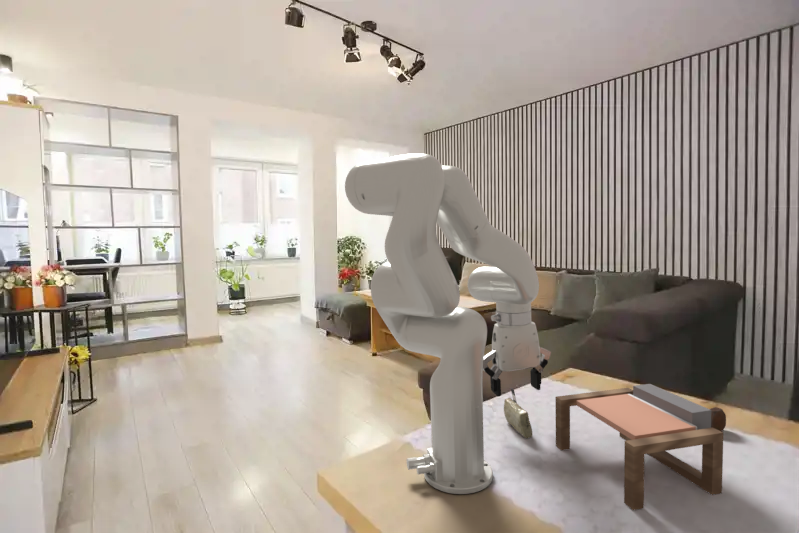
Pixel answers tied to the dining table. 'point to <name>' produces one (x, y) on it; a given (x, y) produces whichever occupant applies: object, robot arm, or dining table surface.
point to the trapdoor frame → (652, 451)
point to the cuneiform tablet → (517, 416)
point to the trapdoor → (648, 412)
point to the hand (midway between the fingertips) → (516, 391)
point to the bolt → (718, 419)
